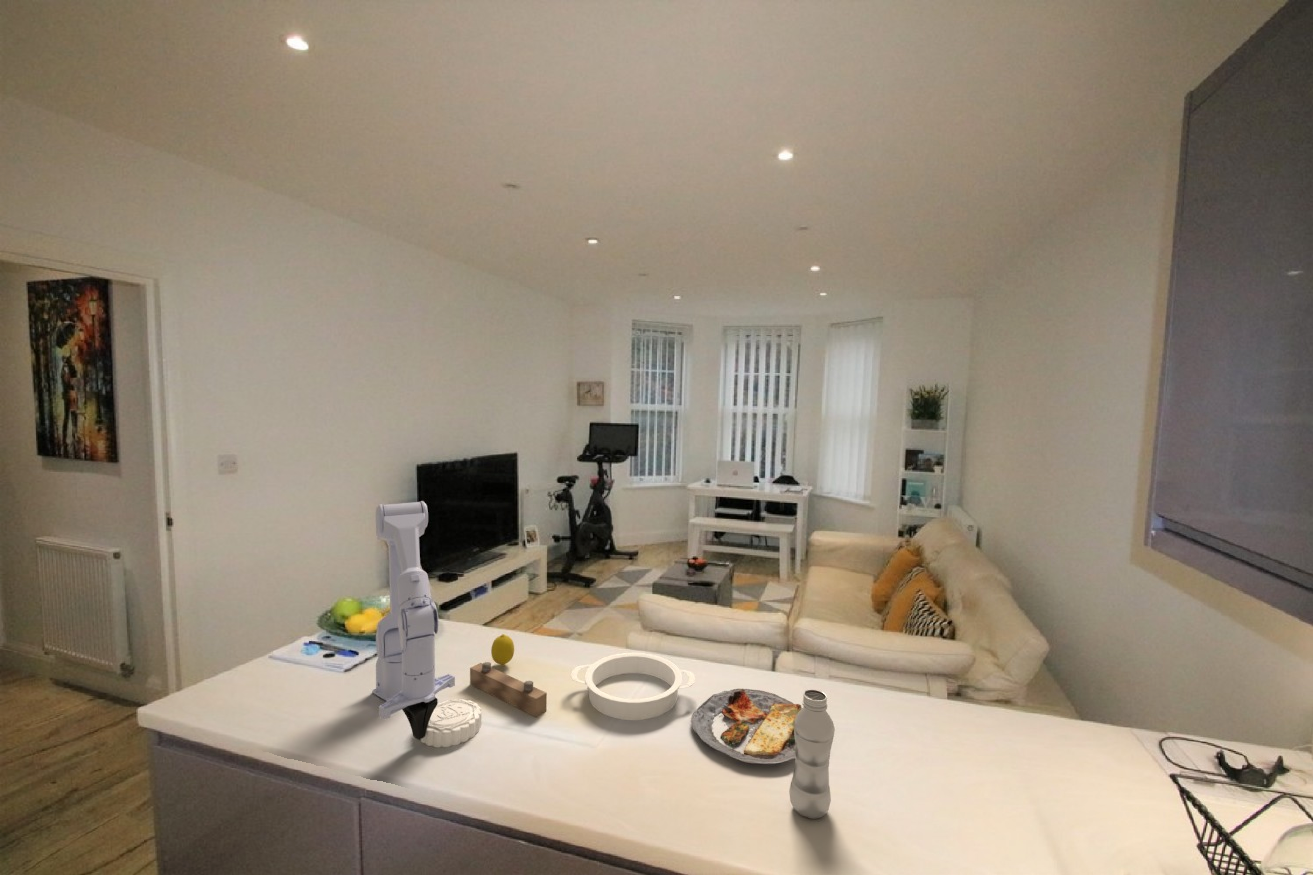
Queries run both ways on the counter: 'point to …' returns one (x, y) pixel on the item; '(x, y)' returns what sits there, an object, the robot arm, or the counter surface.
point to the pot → (633, 664)
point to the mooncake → (452, 723)
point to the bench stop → (509, 689)
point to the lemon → (502, 649)
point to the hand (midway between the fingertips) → (419, 736)
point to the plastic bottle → (812, 756)
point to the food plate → (742, 710)
